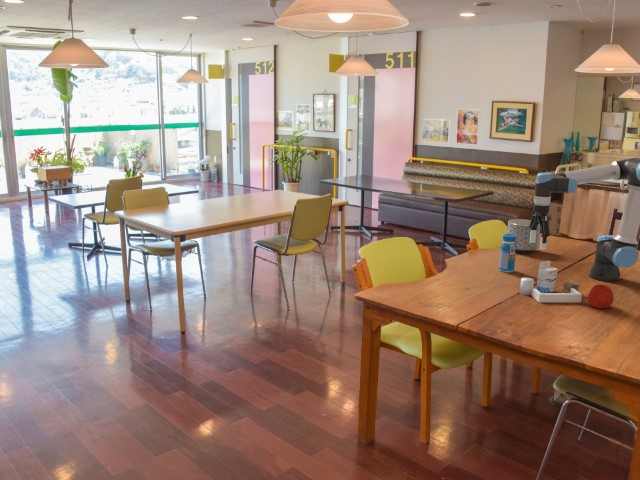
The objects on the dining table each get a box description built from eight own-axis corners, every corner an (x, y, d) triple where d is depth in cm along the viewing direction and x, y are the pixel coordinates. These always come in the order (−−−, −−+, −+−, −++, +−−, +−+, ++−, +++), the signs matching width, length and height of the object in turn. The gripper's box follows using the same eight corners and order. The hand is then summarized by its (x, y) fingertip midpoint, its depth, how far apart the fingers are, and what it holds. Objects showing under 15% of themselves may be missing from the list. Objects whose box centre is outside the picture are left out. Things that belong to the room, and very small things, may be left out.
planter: (500, 247, 385) (503, 219, 380) (529, 247, 387) (532, 219, 382) (513, 255, 366) (516, 225, 362) (543, 254, 368) (546, 225, 364)
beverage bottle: (497, 271, 332) (500, 236, 327) (499, 267, 339) (502, 232, 334) (513, 273, 329) (517, 237, 324) (515, 269, 336) (518, 234, 331)
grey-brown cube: (571, 291, 301) (572, 281, 300) (578, 294, 296) (579, 284, 295) (562, 292, 299) (563, 282, 298) (569, 295, 295) (570, 285, 293)
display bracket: (572, 296, 293) (573, 288, 292) (580, 302, 284) (581, 294, 283) (531, 295, 293) (532, 287, 292) (538, 302, 284) (539, 294, 283)
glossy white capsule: (529, 291, 300) (531, 277, 298) (534, 295, 294) (535, 281, 292) (517, 290, 300) (519, 277, 298) (522, 294, 294) (523, 281, 292)
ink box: (544, 293, 296) (547, 264, 292) (536, 291, 300) (539, 262, 296) (555, 291, 300) (558, 262, 297) (547, 288, 304) (550, 260, 301)
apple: (610, 312, 272) (613, 289, 270) (584, 307, 278) (587, 285, 275) (613, 305, 281) (616, 283, 279) (588, 301, 287) (591, 279, 284)
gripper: (525, 199, 312) (521, 240, 318) (544, 209, 288) (539, 252, 293) (539, 200, 313) (535, 240, 318) (559, 209, 289) (555, 252, 294)
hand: (537, 246), depth 306 cm, fingers open, 13 cm apart
